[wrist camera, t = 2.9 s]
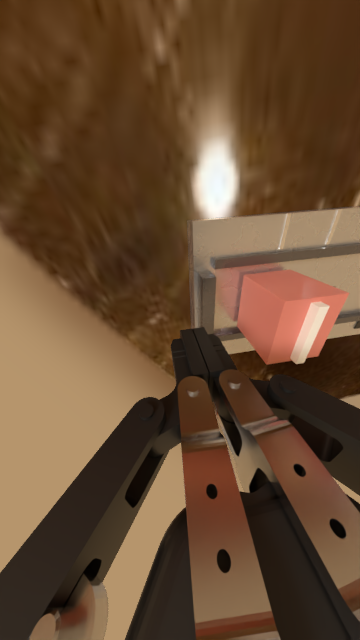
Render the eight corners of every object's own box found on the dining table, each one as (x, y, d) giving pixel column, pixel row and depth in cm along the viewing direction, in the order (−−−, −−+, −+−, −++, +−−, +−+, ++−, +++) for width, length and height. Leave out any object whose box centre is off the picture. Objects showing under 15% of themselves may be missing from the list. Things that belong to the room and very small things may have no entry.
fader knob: (290, 269, 14) (360, 297, 9) (275, 320, 17) (324, 362, 12) (243, 274, 14) (292, 306, 9) (236, 326, 16) (271, 371, 12)
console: (468, 197, 16) (544, 193, 13) (385, 318, 22) (422, 334, 19) (187, 220, 13) (198, 222, 10) (192, 347, 20) (199, 370, 17)
